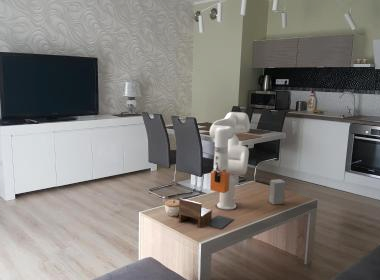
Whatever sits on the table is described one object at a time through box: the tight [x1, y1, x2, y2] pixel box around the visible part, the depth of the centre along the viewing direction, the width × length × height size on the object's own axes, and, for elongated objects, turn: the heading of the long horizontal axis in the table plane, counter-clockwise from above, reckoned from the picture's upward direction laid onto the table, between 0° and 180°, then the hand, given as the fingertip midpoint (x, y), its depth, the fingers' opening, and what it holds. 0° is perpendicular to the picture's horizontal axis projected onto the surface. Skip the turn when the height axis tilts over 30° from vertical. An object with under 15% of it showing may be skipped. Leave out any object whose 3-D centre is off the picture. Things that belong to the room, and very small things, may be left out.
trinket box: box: [164, 199, 179, 217], centre depth 220 cm, size 11×11×9 cm
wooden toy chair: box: [178, 197, 213, 228], centre depth 211 cm, size 14×14×14 cm
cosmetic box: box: [268, 178, 286, 206], centre depth 245 cm, size 8×7×16 cm
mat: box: [205, 215, 234, 230], centre depth 211 cm, size 16×10×1 cm, turn 148°
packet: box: [209, 170, 230, 193], centre depth 207 cm, size 6×9×11 cm, turn 58°
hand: (219, 180), depth 207 cm, fingers closed on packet, 6 cm apart
